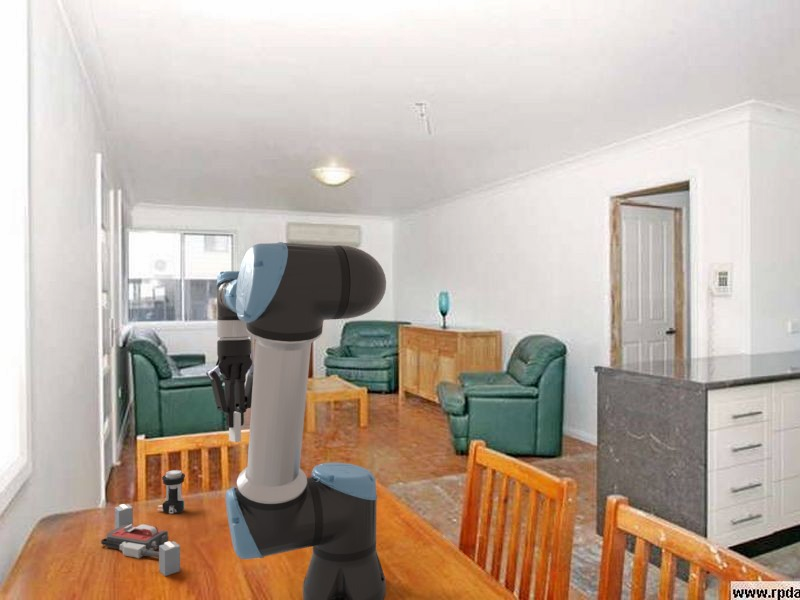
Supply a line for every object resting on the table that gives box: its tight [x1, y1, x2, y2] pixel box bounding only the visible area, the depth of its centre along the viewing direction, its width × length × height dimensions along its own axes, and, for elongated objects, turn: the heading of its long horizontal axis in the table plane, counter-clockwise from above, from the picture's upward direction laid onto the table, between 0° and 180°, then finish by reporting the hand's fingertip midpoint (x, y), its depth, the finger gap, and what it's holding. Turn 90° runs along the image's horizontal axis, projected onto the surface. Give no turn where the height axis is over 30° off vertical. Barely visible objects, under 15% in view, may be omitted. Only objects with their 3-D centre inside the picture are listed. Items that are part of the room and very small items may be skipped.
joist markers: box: [114, 503, 181, 577], centre depth 121 cm, size 30×3×5 cm, turn 44°
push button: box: [157, 469, 186, 515], centre depth 141 cm, size 7×5×10 cm
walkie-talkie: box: [100, 523, 169, 559], centre depth 121 cm, size 9×4×20 cm
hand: (235, 440), depth 129 cm, fingers closed
